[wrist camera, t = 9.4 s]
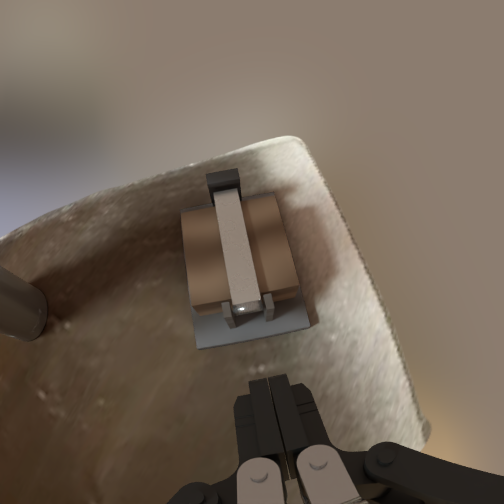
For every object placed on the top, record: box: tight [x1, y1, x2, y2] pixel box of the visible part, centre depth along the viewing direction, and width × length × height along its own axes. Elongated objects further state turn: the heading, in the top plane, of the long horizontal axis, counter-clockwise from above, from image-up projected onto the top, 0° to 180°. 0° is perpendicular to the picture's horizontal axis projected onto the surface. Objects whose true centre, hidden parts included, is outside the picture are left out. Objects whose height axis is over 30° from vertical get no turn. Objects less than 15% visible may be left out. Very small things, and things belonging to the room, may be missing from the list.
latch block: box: [180, 168, 310, 350], centre depth 37 cm, size 20×14×9 cm
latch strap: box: [213, 188, 263, 316], centre depth 35 cm, size 16×3×1 cm, turn 11°
